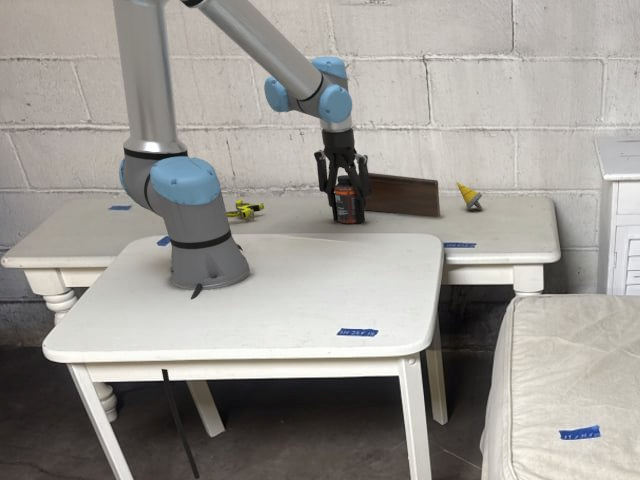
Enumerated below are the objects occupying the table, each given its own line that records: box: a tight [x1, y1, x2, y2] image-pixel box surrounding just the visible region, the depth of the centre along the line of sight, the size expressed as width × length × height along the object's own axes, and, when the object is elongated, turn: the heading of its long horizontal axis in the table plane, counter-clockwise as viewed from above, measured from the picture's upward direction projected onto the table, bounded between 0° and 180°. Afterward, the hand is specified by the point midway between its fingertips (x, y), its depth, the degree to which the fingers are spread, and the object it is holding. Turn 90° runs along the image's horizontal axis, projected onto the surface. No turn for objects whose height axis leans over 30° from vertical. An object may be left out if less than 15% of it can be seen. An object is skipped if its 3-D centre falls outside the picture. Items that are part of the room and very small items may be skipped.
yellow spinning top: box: [456, 182, 483, 210], centre depth 197 cm, size 5×5×10 cm
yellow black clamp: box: [226, 198, 265, 220], centre depth 190 cm, size 12×4×7 cm
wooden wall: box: [358, 172, 441, 218], centre depth 193 cm, size 2×22×10 cm, turn 74°
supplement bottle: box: [334, 174, 358, 225], centre depth 185 cm, size 6×6×11 cm
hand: (349, 220), depth 188 cm, fingers closed on supplement bottle, 6 cm apart
